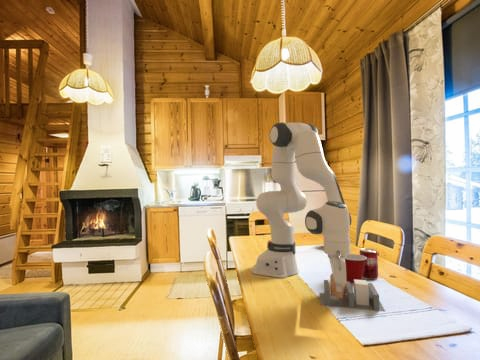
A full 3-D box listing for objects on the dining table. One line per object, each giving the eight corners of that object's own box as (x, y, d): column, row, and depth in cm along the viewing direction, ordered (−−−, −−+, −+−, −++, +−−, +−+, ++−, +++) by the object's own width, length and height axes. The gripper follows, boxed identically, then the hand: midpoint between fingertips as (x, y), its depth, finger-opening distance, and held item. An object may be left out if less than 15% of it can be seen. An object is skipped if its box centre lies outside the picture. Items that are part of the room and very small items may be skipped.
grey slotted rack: (320, 309, 89) (319, 290, 89) (319, 296, 99) (319, 279, 99) (385, 316, 84) (385, 295, 84) (377, 301, 94) (377, 283, 94)
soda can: (380, 280, 113) (379, 252, 113) (362, 279, 114) (361, 252, 114) (375, 274, 120) (374, 248, 120) (358, 273, 122) (357, 247, 122)
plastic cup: (365, 280, 113) (365, 252, 113) (369, 290, 103) (368, 260, 103) (339, 278, 117) (338, 251, 117) (339, 287, 106) (339, 258, 106)
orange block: (330, 295, 92) (330, 275, 92) (334, 291, 95) (333, 272, 95) (342, 298, 90) (342, 277, 90) (345, 293, 93) (345, 274, 93)
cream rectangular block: (356, 304, 89) (355, 283, 89) (354, 299, 93) (353, 279, 93) (369, 305, 88) (368, 284, 88) (366, 300, 92) (366, 280, 92)
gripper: (350, 257, 82) (351, 301, 82) (343, 241, 101) (343, 277, 101) (329, 256, 83) (330, 299, 83) (325, 240, 103) (326, 276, 103)
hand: (337, 287), depth 92 cm, fingers closed on orange block, 5 cm apart
